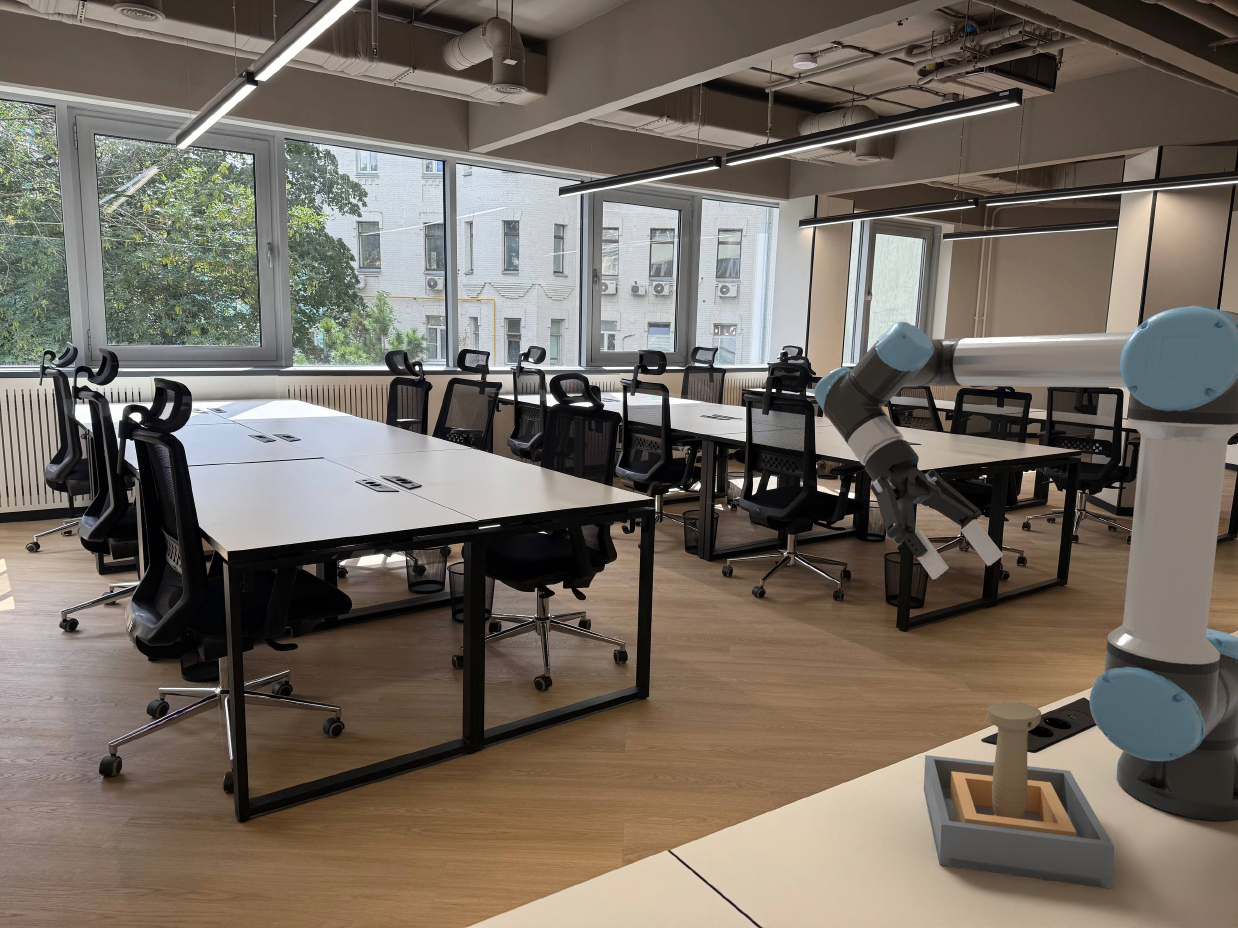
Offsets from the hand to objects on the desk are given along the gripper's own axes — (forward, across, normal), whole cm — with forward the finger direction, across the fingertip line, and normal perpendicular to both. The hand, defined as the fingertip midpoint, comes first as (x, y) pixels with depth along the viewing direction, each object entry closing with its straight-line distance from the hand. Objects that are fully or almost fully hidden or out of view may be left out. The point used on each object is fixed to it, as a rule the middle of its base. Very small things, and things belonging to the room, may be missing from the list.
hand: (969, 567), depth 118 cm
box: (+31, +11, -11) cm, 35 cm away
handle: (+30, +11, -11) cm, 34 cm away
